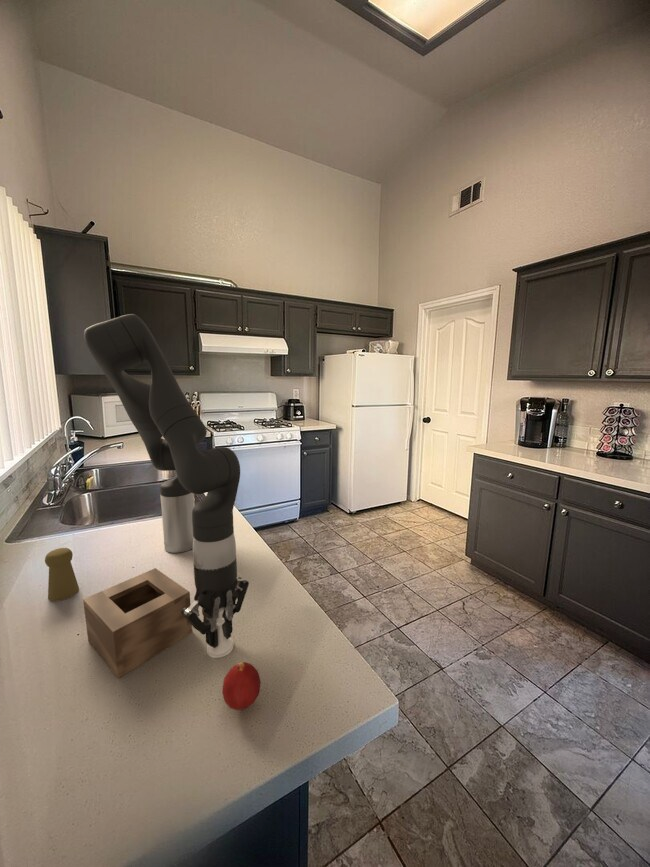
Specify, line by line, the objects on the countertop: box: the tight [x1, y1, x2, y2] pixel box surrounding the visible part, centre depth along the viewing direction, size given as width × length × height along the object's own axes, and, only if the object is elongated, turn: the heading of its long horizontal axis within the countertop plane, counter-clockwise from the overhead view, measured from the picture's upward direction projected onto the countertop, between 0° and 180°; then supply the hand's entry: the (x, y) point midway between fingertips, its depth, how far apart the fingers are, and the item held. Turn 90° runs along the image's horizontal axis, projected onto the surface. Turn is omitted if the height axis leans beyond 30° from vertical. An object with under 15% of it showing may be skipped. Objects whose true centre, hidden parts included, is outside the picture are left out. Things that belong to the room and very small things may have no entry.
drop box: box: [82, 568, 193, 679], centre depth 69 cm, size 14×14×9 cm
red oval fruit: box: [222, 661, 262, 711], centre depth 54 cm, size 6×6×8 cm
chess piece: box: [206, 607, 234, 659], centre depth 66 cm, size 5×5×10 cm
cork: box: [44, 547, 80, 602], centre depth 83 cm, size 6×6×11 cm
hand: (219, 640), depth 66 cm, fingers closed on chess piece, 2 cm apart
